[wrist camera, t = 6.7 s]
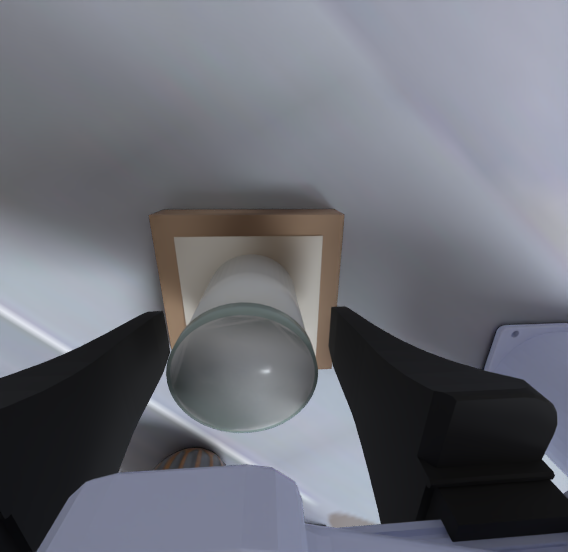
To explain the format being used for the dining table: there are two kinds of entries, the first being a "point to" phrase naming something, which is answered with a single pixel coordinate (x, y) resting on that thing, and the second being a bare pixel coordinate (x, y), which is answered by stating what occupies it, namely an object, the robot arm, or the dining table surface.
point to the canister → (244, 350)
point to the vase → (190, 459)
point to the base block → (250, 240)
